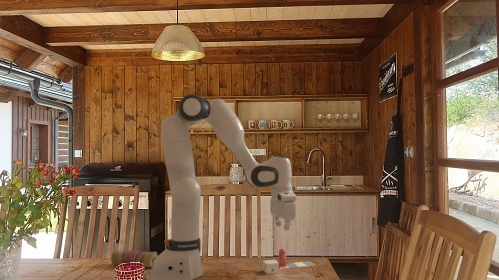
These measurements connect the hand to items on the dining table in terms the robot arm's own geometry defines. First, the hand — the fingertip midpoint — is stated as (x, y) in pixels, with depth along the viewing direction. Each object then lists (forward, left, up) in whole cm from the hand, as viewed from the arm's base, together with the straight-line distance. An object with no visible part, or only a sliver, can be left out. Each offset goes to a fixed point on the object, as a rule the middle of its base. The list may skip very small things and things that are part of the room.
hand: (282, 227), depth 160 cm
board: (+6, 0, -17) cm, 18 cm away
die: (-7, -3, -14) cm, 16 cm away
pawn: (0, 0, -16) cm, 16 cm away
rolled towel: (-59, +23, -17) cm, 66 cm away
